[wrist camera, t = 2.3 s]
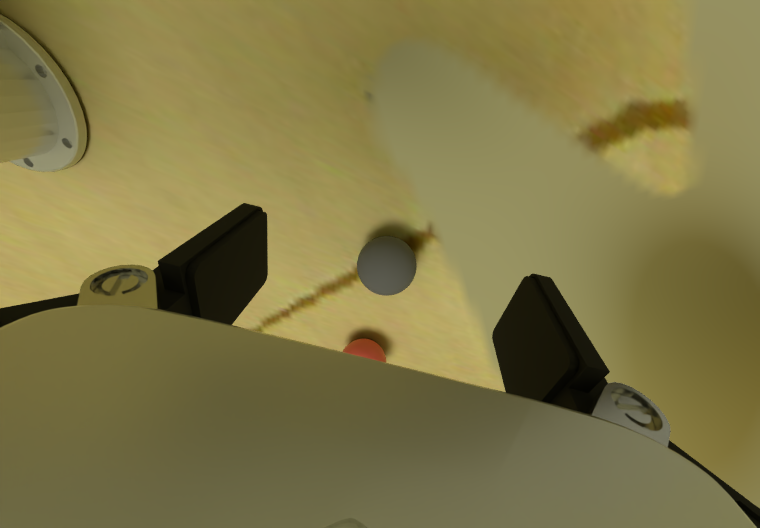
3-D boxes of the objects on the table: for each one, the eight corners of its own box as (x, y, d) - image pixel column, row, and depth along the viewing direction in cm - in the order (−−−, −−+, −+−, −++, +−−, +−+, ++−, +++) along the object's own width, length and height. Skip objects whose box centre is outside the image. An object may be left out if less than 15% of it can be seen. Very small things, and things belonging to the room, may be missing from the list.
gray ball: (367, 220, 29) (356, 248, 24) (423, 233, 29) (423, 263, 24) (358, 267, 32) (348, 300, 27) (409, 278, 32) (407, 313, 27)
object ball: (348, 324, 36) (337, 361, 31) (392, 334, 36) (388, 372, 32) (342, 354, 39) (332, 391, 34) (383, 363, 39) (378, 402, 34)
